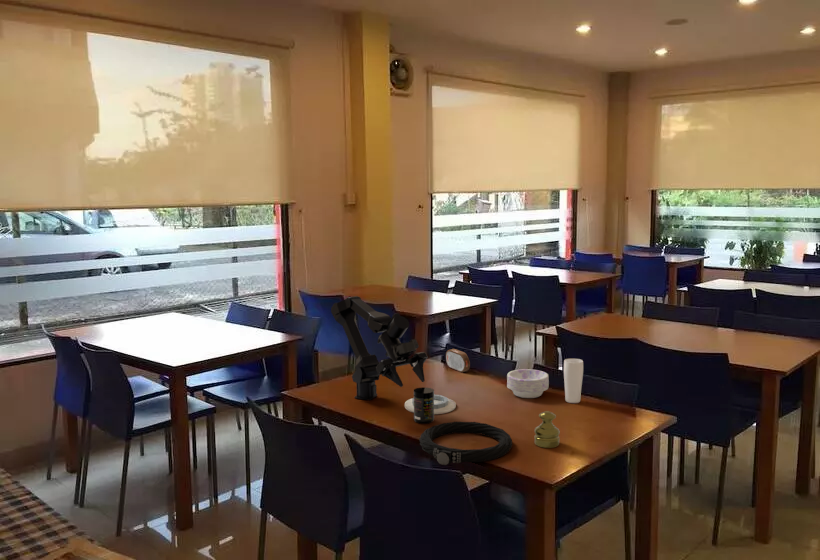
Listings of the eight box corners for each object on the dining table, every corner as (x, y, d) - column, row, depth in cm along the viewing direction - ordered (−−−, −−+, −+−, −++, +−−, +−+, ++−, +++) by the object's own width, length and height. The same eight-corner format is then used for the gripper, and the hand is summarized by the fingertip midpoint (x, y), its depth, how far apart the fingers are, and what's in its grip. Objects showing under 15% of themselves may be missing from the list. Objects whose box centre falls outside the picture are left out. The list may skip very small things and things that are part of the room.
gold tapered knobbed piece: (530, 445, 205) (530, 412, 204) (540, 437, 211) (540, 406, 210) (553, 450, 201) (554, 417, 200) (563, 442, 207) (563, 410, 206)
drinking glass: (562, 403, 245) (563, 362, 243) (563, 398, 251) (564, 357, 249) (581, 405, 243) (582, 363, 241) (582, 399, 249) (583, 359, 247)
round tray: (396, 410, 238) (396, 403, 238) (416, 396, 255) (416, 389, 254) (444, 417, 231) (444, 410, 231) (462, 402, 247) (462, 395, 247)
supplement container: (438, 420, 228) (438, 389, 227) (426, 425, 223) (425, 394, 222) (422, 416, 232) (421, 386, 231) (409, 421, 227) (409, 390, 226)
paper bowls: (506, 399, 250) (506, 378, 249) (507, 388, 265) (507, 368, 264) (548, 401, 247) (549, 380, 246) (548, 389, 262) (548, 369, 261)
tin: (470, 373, 287) (470, 353, 285) (464, 374, 285) (464, 354, 284) (450, 365, 299) (450, 346, 298) (444, 366, 298) (444, 347, 297)
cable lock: (525, 427, 210) (489, 461, 184) (524, 440, 211) (489, 475, 185) (442, 414, 223) (398, 444, 197) (442, 426, 224) (398, 457, 197)
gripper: (380, 336, 227) (400, 375, 220) (424, 328, 238) (445, 366, 231) (367, 355, 234) (386, 393, 227) (410, 347, 246) (430, 384, 238)
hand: (413, 383), depth 231 cm, fingers open, 9 cm apart
